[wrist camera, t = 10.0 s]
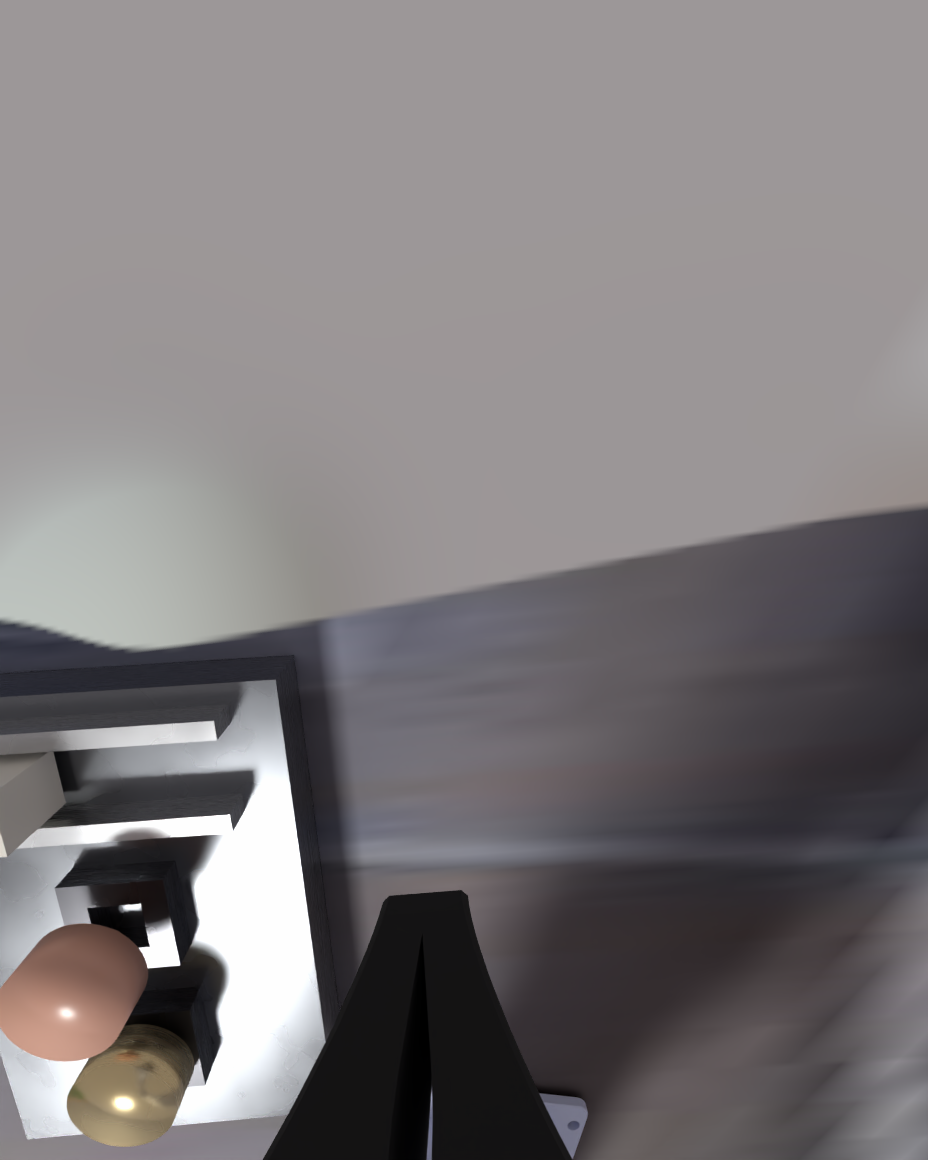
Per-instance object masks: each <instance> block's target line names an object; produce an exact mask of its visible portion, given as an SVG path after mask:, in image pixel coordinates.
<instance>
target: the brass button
mask: <svg viewBox="0 0 928 1160" xmlns="http://www.w3.org/2000/svg"><path fill="white" fill-rule="evenodd" d="M193 1071H194V1058H193V1055H192V1052H191V1050H190V1048H189V1047H188V1045H187V1044H186V1043H185V1042H184V1041H183V1040H182V1039H181V1038H180V1037H179V1036H177V1035H176V1034H174V1033H173V1032H171V1031H169V1030H167V1029H164V1028H161V1027H158V1026H154V1025H148V1024H133V1025H127V1026H124V1027H123V1029H122V1031H121V1032H120V1034H119V1036H118V1038H117V1039H116V1040H115V1042H114V1043H113V1044H112V1045H111V1046H110V1047H109V1048H108V1049H106V1050H105V1051H103V1052H102V1053H100V1054H98V1055H96V1056H93V1057H90V1058H89V1059H88V1060H87V1062H86V1064H85V1065H84V1067H83V1069H82V1071H81V1072H80V1074H79V1076H78V1077H77V1079H76V1081H75V1083H74V1084H73V1086H72V1088H71V1089H70V1091H69V1094H68V1096H67V1112H68V1115H69V1117H70V1119H71V1121H72V1123H73V1124H74V1125H75V1126H76V1128H78V1129H79V1130H80V1131H81V1132H82V1133H83V1134H85V1135H86V1136H88V1137H89V1138H91V1139H93V1140H95V1141H97V1142H100V1143H103V1144H107V1145H112V1146H121V1147H129V1146H138V1145H142V1144H146V1143H149V1142H151V1141H153V1140H156V1139H157V1138H159V1137H160V1136H162V1135H163V1134H164V1133H165V1132H167V1130H168V1129H169V1128H170V1127H171V1125H172V1124H173V1122H174V1119H175V1117H176V1114H177V1112H178V1109H179V1107H180V1104H181V1102H182V1100H183V1097H184V1095H185V1092H186V1090H187V1087H188V1085H189V1082H190V1080H191V1077H192V1075H193Z"/></svg>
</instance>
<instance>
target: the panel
mask: <svg viewBox="0 0 928 1160" xmlns="http://www.w3.org/2000/svg"><path fill="white" fill-rule="evenodd" d="M38 752H54V756H55V760H56V765H57V769H58V773H59V777H60V781H61V785H62V789H63V793H64V797H65V801H66V804H65V805H63V806H62V807H61V808H60V809H59V810H58V811H57V812H56V813H55V814H54V815H52V816H51V817H50V818H49V819H48V820H47V821H46V822H45V823H44V824H43V825H42V826H40V827H39V828H38V829H37V830H36V831H35V832H34V833H33V834H32V835H31V836H30V837H28V838H27V839H26V840H25V841H24V842H23V843H22V844H21V845H20V846H19V847H18V848H16V849H15V850H14V851H13V852H12V853H11V854H10V855H9V856H8V857H0V988H1V987H2V986H3V984H4V983H5V982H6V980H7V979H8V978H9V977H10V976H11V974H12V973H13V972H14V971H15V970H16V968H17V967H18V966H19V965H20V964H21V962H22V961H23V960H24V959H25V958H26V956H27V955H28V954H29V953H30V952H31V950H32V949H33V948H34V947H35V946H36V944H37V943H38V942H39V941H40V940H41V939H42V938H43V937H44V936H45V935H47V934H48V933H50V932H51V931H53V930H55V929H57V928H60V927H63V926H66V925H71V924H81V923H87V924H96V925H101V926H105V927H108V928H111V929H115V930H117V931H119V932H120V933H122V934H123V935H125V936H126V937H127V938H129V939H130V940H131V941H132V942H133V943H135V945H136V946H137V947H138V948H139V949H140V951H141V952H142V954H143V956H144V958H145V960H146V963H147V968H148V980H147V984H146V987H145V989H144V991H143V993H142V995H141V996H140V998H139V1000H138V1002H137V1004H136V1005H135V1007H134V1009H133V1011H132V1013H131V1014H130V1016H129V1018H128V1020H127V1022H126V1023H125V1025H124V1026H127V1025H133V1024H148V1025H154V1026H158V1027H161V1028H164V1029H167V1030H169V1031H171V1032H173V1033H174V1034H176V1035H177V1036H179V1037H180V1038H181V1039H182V1040H183V1041H184V1042H185V1043H186V1044H187V1045H188V1047H189V1048H190V1050H191V1052H192V1055H193V1058H194V1071H193V1075H192V1077H191V1080H190V1082H189V1085H188V1087H187V1090H186V1092H185V1095H184V1097H183V1100H182V1102H181V1104H180V1107H179V1109H178V1112H177V1114H176V1117H175V1119H174V1122H173V1124H172V1125H171V1126H175V1125H186V1124H196V1123H207V1122H218V1121H228V1120H239V1119H250V1118H261V1117H271V1116H282V1115H288V1114H289V1112H290V1110H291V1108H292V1106H293V1104H294V1103H295V1101H296V1099H297V1097H298V1095H299V1093H300V1091H301V1089H302V1087H303V1085H304V1083H305V1081H306V1079H307V1077H308V1075H309V1073H310V1071H311V1069H312V1068H313V1066H314V1064H315V1062H316V1060H317V1058H318V1056H319V1054H320V1052H321V1050H322V1048H323V1046H324V1044H325V1042H326V1040H327V1038H328V1036H329V1034H330V1032H331V1030H332V1028H333V1026H334V1023H335V1021H336V1019H337V1017H338V1015H339V1005H338V997H337V990H336V982H335V974H334V966H333V958H332V951H331V943H330V935H329V927H328V919H327V911H326V904H325V896H324V888H323V880H322V872H321V864H320V857H319V849H318V841H317V833H316V825H315V817H314V810H313V802H312V794H311V786H310V778H309V771H308V763H307V755H306V747H305V739H304V731H303V724H302V716H301V708H300V700H299V692H298V684H297V677H296V669H295V661H294V655H292V656H276V657H260V658H244V659H228V660H212V661H196V662H180V663H164V664H148V665H132V666H116V667H100V668H84V669H68V670H52V671H36V672H20V673H4V674H0V755H9V754H24V753H38ZM0 1054H1V1057H2V1060H3V1063H4V1066H5V1069H6V1073H7V1076H8V1079H9V1082H10V1085H11V1088H12V1092H13V1095H14V1098H15V1101H16V1104H17V1107H18V1111H19V1114H20V1117H21V1120H22V1123H23V1127H24V1130H25V1133H26V1136H27V1139H35V1138H46V1137H57V1136H68V1135H78V1134H83V1133H82V1132H81V1131H80V1130H79V1129H78V1128H76V1126H75V1125H74V1124H73V1123H72V1121H71V1119H70V1117H69V1115H68V1112H67V1096H68V1094H69V1091H70V1089H71V1088H72V1086H73V1084H74V1083H75V1081H76V1079H77V1077H78V1076H79V1074H80V1072H81V1071H82V1069H83V1067H84V1065H85V1064H86V1062H87V1060H88V1059H89V1058H88V1059H83V1060H78V1061H67V1062H63V1061H53V1060H47V1059H43V1058H40V1057H37V1056H34V1055H32V1054H30V1053H27V1052H25V1051H24V1050H22V1049H20V1048H19V1047H17V1046H16V1045H15V1044H14V1043H12V1042H11V1041H10V1040H9V1039H8V1038H7V1037H6V1035H5V1034H4V1033H3V1031H2V1030H1V1028H0Z"/></svg>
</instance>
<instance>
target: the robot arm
mask: <svg viewBox="0 0 928 1160" xmlns="http://www.w3.org/2000/svg"><path fill="white" fill-rule="evenodd" d="M587 1117H588V1111H587V1107H586V1103H585V1101H584V1100H582V1099H581V1098H578V1097H570V1096H561V1095H552V1094H543V1093H539V1092H538V1090H537V1088H536V1086H535V1083H534V1081H533V1079H532V1077H531V1075H530V1073H529V1070H528V1068H527V1066H526V1064H525V1062H524V1060H523V1057H522V1055H521V1053H520V1051H519V1049H518V1046H517V1044H516V1042H515V1039H514V1037H513V1035H512V1032H511V1030H510V1028H509V1025H508V1023H507V1020H506V1018H505V1015H504V1013H503V1010H502V1008H501V1005H500V1003H499V1000H498V998H497V995H496V992H495V990H494V987H493V985H492V982H491V979H490V977H489V974H488V971H487V968H486V965H485V962H484V959H483V956H482V953H481V950H480V947H479V944H478V940H477V937H476V933H475V930H474V926H473V922H472V918H471V913H470V908H469V901H468V895H466V894H465V893H464V892H463V891H462V890H458V891H445V892H432V893H420V894H407V895H394V896H389V897H388V898H387V899H386V900H385V901H384V902H383V905H382V908H381V911H380V915H379V918H378V921H377V923H376V926H375V929H374V932H373V935H372V937H371V940H370V943H369V945H368V948H367V950H366V953H365V955H364V958H363V960H362V963H361V965H360V967H359V970H358V972H357V975H356V977H355V979H354V982H353V984H352V986H351V988H350V990H349V993H348V995H347V997H346V999H345V1001H344V1004H343V1006H342V1008H341V1010H340V1012H339V1015H338V1017H337V1019H336V1021H335V1023H334V1026H333V1028H332V1030H331V1032H330V1034H329V1036H328V1038H327V1040H326V1042H325V1044H324V1046H323V1048H322V1050H321V1052H320V1054H319V1056H318V1058H317V1060H316V1062H315V1064H314V1066H313V1068H312V1069H311V1071H310V1073H309V1075H308V1077H307V1079H306V1081H305V1083H304V1085H303V1087H302V1089H301V1091H300V1093H299V1095H298V1097H297V1099H296V1101H295V1103H294V1104H293V1106H292V1108H291V1110H290V1112H289V1114H288V1116H287V1117H286V1119H285V1121H284V1123H283V1125H282V1126H281V1128H280V1130H279V1132H278V1134H277V1135H276V1137H275V1139H274V1141H273V1143H272V1144H271V1146H270V1148H269V1150H268V1151H267V1153H266V1155H265V1157H264V1158H263V1160H573V1157H574V1154H575V1151H576V1149H577V1146H578V1143H579V1140H580V1137H581V1134H582V1131H583V1128H584V1126H585V1123H586V1120H587Z"/></svg>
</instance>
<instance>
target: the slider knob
mask: <svg viewBox="0 0 928 1160" xmlns="http://www.w3.org/2000/svg"><path fill="white" fill-rule="evenodd" d="M65 804H66V801H65V797H64V793H63V789H62V785H61V781H60V777H59V773H58V769H57V765H56V760H55V756H54V752H38V753H24V754H9V755H0V857H8V856H9V855H10V854H11V853H12V852H13V851H14V850H15V849H16V848H18V847H19V846H20V845H21V844H22V843H23V842H24V841H25V840H26V839H27V838H28V837H30V836H31V835H32V834H33V833H34V832H35V831H36V830H37V829H38V828H39V827H40V826H42V825H43V824H44V823H45V822H46V821H47V820H48V819H49V818H50V817H51V816H52V815H54V814H55V813H56V812H57V811H58V810H59V809H60V808H61V807H62V806H63V805H65Z"/></svg>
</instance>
